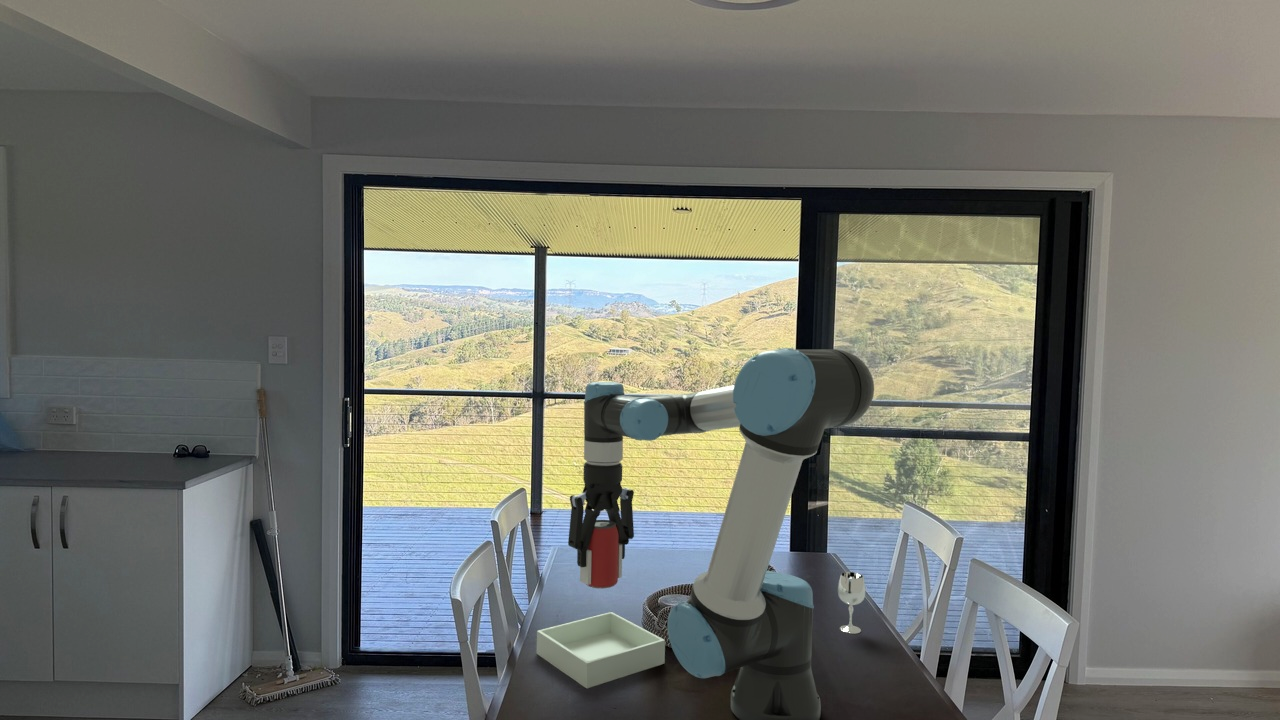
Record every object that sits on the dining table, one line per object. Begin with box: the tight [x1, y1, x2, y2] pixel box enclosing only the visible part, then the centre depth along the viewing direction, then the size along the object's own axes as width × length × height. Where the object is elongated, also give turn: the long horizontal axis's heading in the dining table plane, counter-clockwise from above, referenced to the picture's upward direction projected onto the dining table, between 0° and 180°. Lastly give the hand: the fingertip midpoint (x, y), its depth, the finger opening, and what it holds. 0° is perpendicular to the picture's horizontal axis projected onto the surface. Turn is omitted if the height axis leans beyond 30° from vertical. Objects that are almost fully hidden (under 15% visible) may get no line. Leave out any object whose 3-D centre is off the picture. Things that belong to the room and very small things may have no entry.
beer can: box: [585, 519, 619, 589], centre depth 150 cm, size 7×7×12 cm
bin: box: [536, 611, 666, 689], centre depth 151 cm, size 18×18×5 cm
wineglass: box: [837, 571, 866, 635], centre depth 168 cm, size 6×6×12 cm
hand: (601, 579), depth 150 cm, fingers closed on beer can, 6 cm apart
